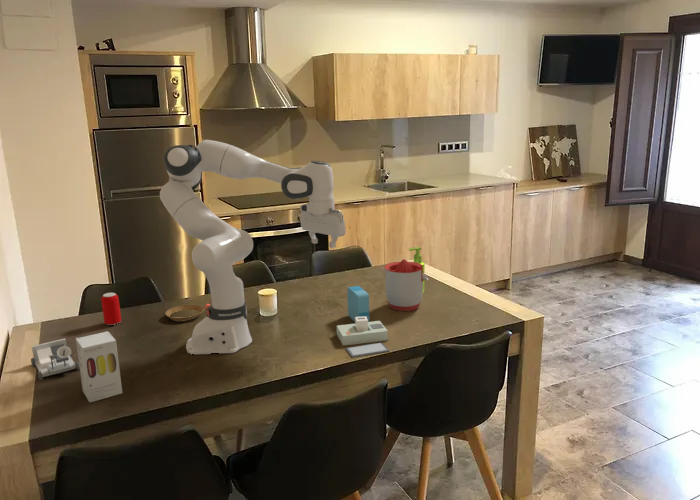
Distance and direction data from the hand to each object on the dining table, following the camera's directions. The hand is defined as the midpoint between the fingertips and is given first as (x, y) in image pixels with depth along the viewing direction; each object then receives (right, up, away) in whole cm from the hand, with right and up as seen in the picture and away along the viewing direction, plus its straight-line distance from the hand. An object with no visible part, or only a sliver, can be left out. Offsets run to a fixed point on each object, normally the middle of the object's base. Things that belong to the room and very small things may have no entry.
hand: (323, 245), depth 205 cm
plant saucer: (-56, -29, +22) cm, 67 cm away
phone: (+15, -36, -14) cm, 41 cm away
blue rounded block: (+13, -29, +13) cm, 34 cm away
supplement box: (-63, -44, -37) cm, 85 cm away
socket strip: (+14, -33, -3) cm, 36 cm away
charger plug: (+14, -33, -3) cm, 35 cm away
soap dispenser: (+38, -20, +43) cm, 61 cm away
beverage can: (-82, -30, +16) cm, 89 cm away
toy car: (-85, -41, -21) cm, 96 cm away
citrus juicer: (+32, -25, +26) cm, 48 cm away
